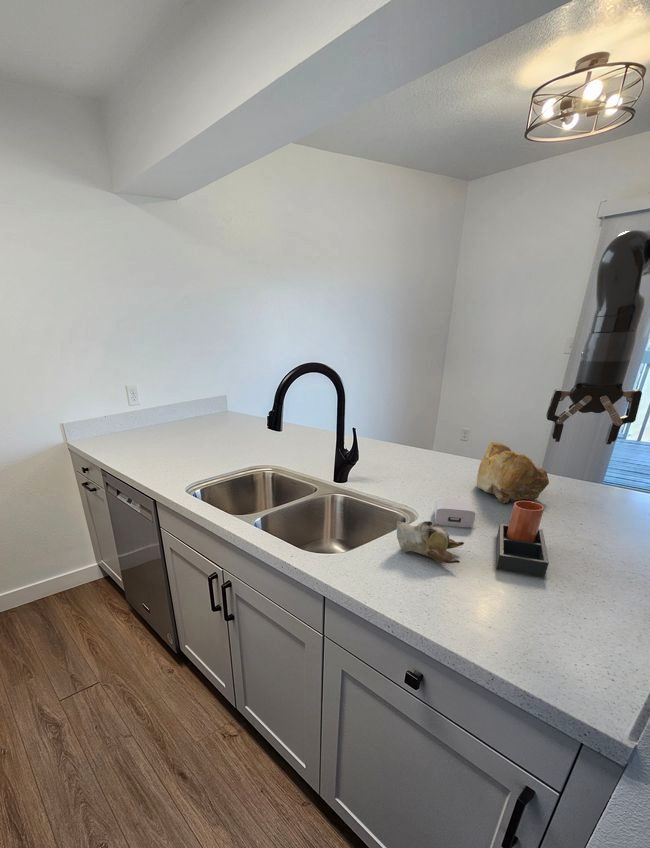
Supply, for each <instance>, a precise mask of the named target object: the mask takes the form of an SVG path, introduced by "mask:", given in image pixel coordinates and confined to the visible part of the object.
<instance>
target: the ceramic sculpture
mask: <svg viewBox="0 0 650 848" xmlns="http://www.w3.org/2000/svg"><path fill="white" fill-rule="evenodd" d="M396 539H397V542H398V544H399V548H400V551H401V552H402V553H408V552H410V551H411V552H415V553H417V554H420V555H423V556H426V557H428V558H432V560H435V561H436V562H437V563H441V564H459V563H461V562H460V560H459V559H457V558H456V557H455V556H454V555H453V554H452V552H451V551H449V550H451V549H455V548H458V547H461V546H463V545H464V544H465V542H464V541H456V540H454V539H452V538H450V535H449V533H448V532H447V530H446V529H445V528H444V527H442V526H439V525H436V524H433V522H432V521H430V520H428V521H427V520H424V521H422V522H419V523H418V524H417V525H411V524H409V523H408V522H404V521H399V520H398V521H397V522H396ZM447 549H449V550H447Z"/></svg>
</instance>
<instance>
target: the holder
mask: <svg viewBox="0 0 650 848" xmlns="http://www.w3.org/2000/svg"><path fill="white" fill-rule="evenodd" d="M508 526H509V524H503V523H499V525H498V530H497V533H496V534H497V535H496V556H495V557H496V560H495V561H496V562H495V563H496V564H495V569H496V570H498V571H503V572H509V573H515V574H520V575H525V576H533V577H538V578H543V579H544V578H545V577H546V574H547V571H548V566H549V564H550V563H549V558H548V553H547V552H548V551H547V546H546V541H545V535H544V529H542V528H541V529H540V528H539V529H538V532H537V536H536V539H535V543H532V542H525V541H518V540H511V539H505V538H506V534H507V530H508Z"/></svg>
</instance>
